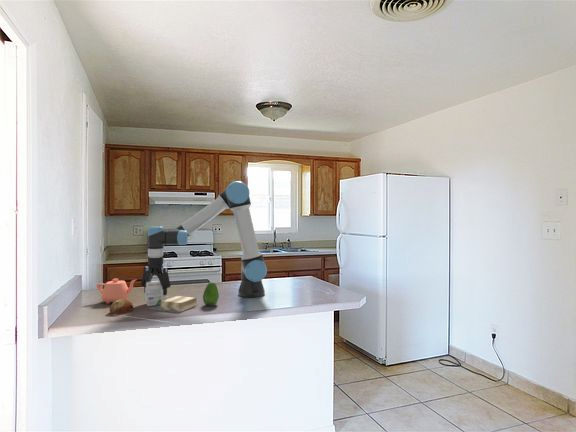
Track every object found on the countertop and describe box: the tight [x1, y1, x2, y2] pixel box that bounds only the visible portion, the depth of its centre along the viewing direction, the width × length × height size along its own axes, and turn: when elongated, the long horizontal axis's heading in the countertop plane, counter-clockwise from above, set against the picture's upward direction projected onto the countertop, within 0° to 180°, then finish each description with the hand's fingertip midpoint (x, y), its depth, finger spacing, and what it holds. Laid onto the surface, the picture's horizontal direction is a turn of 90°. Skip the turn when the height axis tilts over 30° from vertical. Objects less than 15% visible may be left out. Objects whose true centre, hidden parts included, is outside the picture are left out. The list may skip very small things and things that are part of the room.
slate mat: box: [148, 304, 198, 314], centre depth 190 cm, size 18×16×1 cm
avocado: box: [202, 282, 220, 307], centre depth 194 cm, size 8×8×12 cm
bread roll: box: [109, 299, 135, 315], centre depth 182 cm, size 10×10×8 cm
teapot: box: [96, 278, 138, 305], centre depth 203 cm, size 13×20×12 cm
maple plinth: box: [161, 295, 197, 313], centre depth 189 cm, size 12×12×4 cm
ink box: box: [146, 280, 162, 307], centre depth 196 cm, size 8×5×12 cm, turn 108°
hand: (155, 300), depth 196 cm, fingers closed on ink box, 9 cm apart
